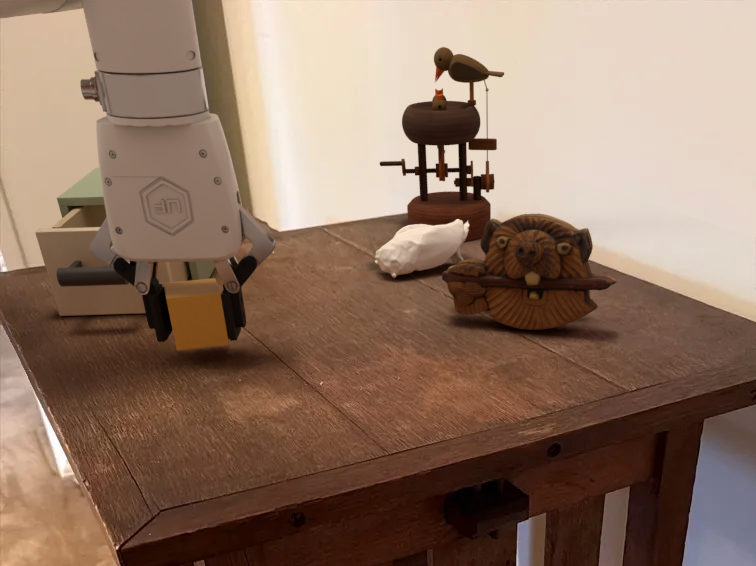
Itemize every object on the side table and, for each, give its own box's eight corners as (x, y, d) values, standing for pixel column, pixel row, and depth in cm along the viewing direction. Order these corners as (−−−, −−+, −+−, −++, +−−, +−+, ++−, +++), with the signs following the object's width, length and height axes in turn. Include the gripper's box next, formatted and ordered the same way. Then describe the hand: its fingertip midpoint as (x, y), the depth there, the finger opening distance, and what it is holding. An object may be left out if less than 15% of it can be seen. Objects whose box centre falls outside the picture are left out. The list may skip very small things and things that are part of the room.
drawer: (166, 329, 86) (146, 243, 81) (43, 334, 86) (16, 246, 81) (201, 271, 101) (186, 194, 96) (96, 274, 100) (76, 198, 96)
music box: (492, 216, 122) (495, 39, 108) (510, 246, 114) (516, 58, 100) (378, 223, 119) (367, 43, 106) (389, 253, 111) (377, 63, 98)
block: (176, 351, 78) (166, 298, 75) (173, 333, 81) (163, 282, 78) (229, 345, 79) (220, 293, 76) (223, 328, 82) (215, 277, 79)
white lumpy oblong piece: (441, 270, 107) (366, 262, 102) (457, 211, 103) (379, 199, 98) (461, 289, 105) (385, 282, 99) (479, 229, 101) (400, 218, 95)
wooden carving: (438, 330, 88) (434, 219, 82) (450, 315, 91) (446, 207, 85) (609, 342, 85) (618, 227, 79) (615, 325, 88) (623, 214, 82)
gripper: (22, 105, 65) (88, 353, 76) (264, 104, 66) (294, 349, 77) (54, 89, 71) (111, 322, 82) (276, 89, 72) (302, 319, 83)
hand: (200, 333), depth 80 cm, fingers closed on block, 5 cm apart
